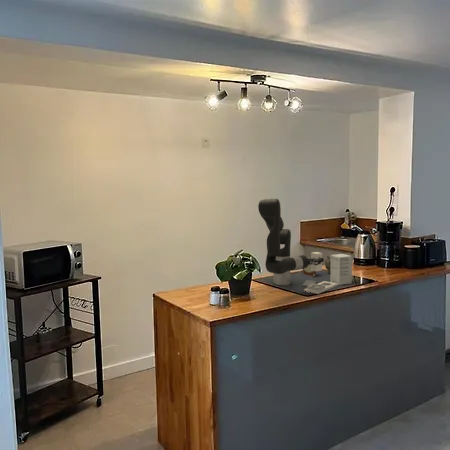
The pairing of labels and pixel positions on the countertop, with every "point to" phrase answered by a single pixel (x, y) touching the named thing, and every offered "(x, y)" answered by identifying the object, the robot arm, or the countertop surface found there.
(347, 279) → the supplement box
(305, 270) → the food container
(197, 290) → the countertop surface
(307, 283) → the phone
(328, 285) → the pale grey tray
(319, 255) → the charger
